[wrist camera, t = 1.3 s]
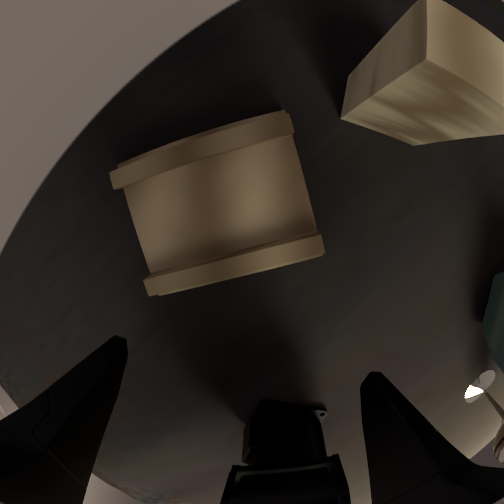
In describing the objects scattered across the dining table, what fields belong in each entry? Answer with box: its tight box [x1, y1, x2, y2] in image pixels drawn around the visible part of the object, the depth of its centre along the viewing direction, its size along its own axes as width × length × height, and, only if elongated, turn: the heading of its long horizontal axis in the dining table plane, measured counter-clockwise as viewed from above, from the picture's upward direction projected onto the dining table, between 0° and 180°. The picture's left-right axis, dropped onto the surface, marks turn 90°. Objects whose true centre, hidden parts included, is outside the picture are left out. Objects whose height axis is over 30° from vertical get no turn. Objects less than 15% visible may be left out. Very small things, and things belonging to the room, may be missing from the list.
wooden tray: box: [109, 110, 325, 296], centre depth 19 cm, size 12×10×2 cm
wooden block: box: [340, 0, 504, 146], centre depth 12 cm, size 6×4×12 cm, turn 77°
